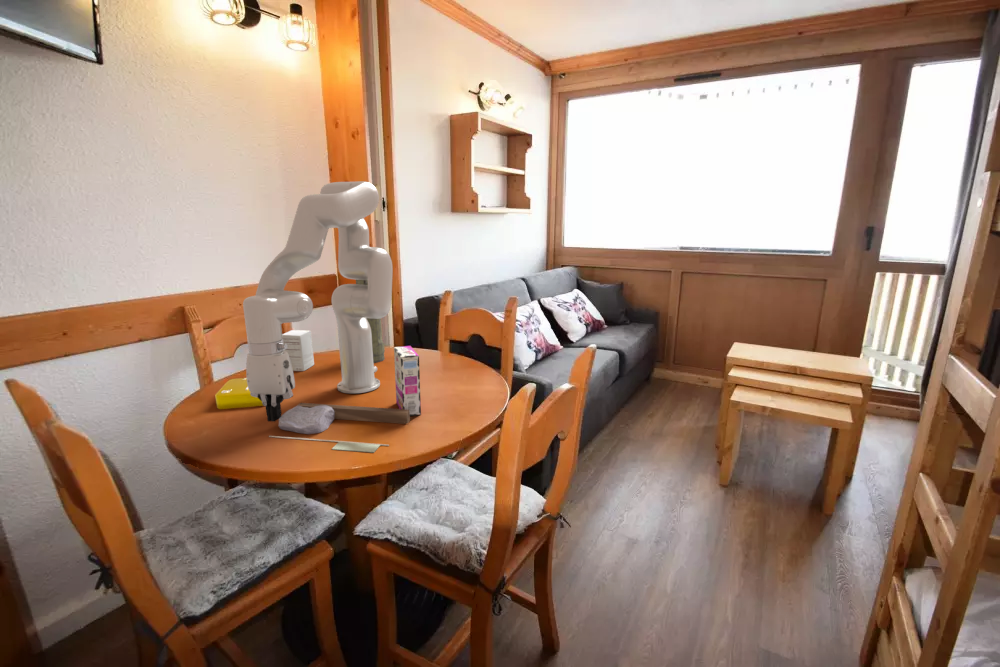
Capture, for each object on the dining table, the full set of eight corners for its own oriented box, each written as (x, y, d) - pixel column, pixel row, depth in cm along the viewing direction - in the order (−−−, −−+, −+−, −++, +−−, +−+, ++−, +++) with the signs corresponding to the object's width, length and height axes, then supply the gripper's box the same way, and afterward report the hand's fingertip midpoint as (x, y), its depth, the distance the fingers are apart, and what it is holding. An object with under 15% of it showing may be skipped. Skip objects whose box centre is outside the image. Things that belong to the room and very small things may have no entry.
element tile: (284, 388, 147) (283, 373, 146) (274, 406, 133) (272, 389, 132) (231, 392, 144) (229, 377, 143) (214, 411, 130) (212, 394, 128)
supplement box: (295, 364, 170) (291, 329, 167) (315, 365, 169) (311, 330, 166) (283, 370, 162) (279, 334, 159) (303, 371, 161) (300, 335, 158)
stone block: (323, 441, 115) (338, 416, 124) (318, 424, 113) (334, 401, 122) (275, 441, 116) (294, 417, 125) (270, 425, 114) (289, 401, 123)
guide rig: (301, 413, 127) (300, 402, 126) (409, 420, 122) (409, 409, 121) (259, 443, 110) (257, 431, 109) (382, 453, 105) (381, 441, 104)
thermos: (381, 354, 182) (375, 261, 173) (387, 362, 171) (381, 264, 163) (357, 356, 178) (350, 262, 170) (362, 365, 168) (355, 265, 159)
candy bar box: (422, 415, 126) (419, 355, 122) (403, 417, 124) (400, 357, 120) (413, 400, 136) (410, 344, 132) (395, 402, 134) (392, 346, 130)
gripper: (303, 345, 116) (310, 415, 120) (248, 342, 118) (257, 411, 123) (285, 353, 109) (293, 428, 113) (226, 350, 111) (237, 423, 115)
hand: (274, 419), depth 118 cm, fingers closed
